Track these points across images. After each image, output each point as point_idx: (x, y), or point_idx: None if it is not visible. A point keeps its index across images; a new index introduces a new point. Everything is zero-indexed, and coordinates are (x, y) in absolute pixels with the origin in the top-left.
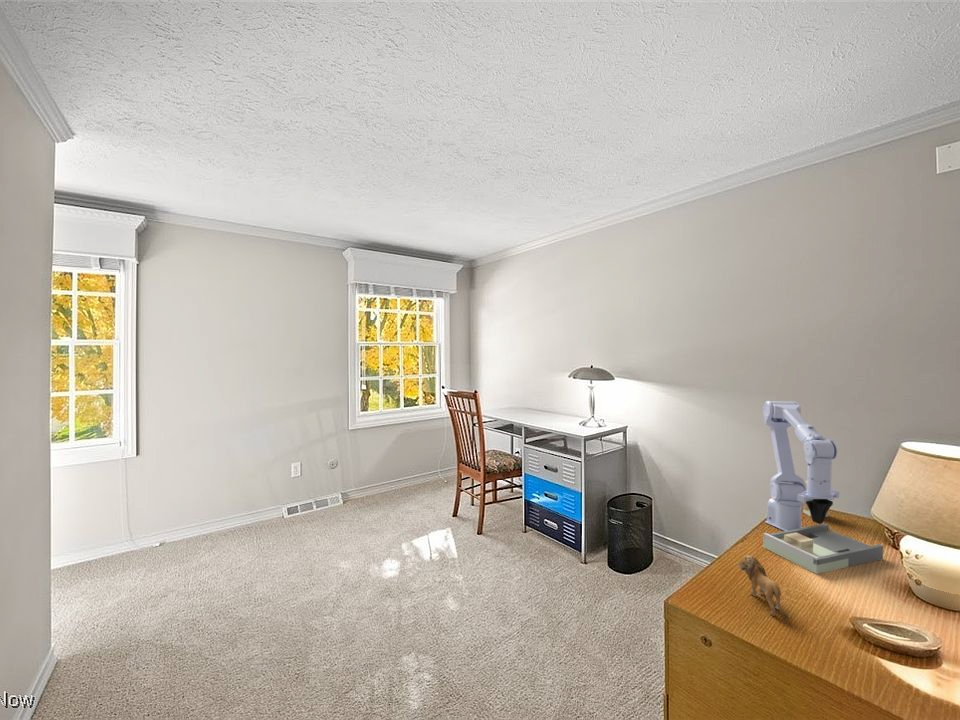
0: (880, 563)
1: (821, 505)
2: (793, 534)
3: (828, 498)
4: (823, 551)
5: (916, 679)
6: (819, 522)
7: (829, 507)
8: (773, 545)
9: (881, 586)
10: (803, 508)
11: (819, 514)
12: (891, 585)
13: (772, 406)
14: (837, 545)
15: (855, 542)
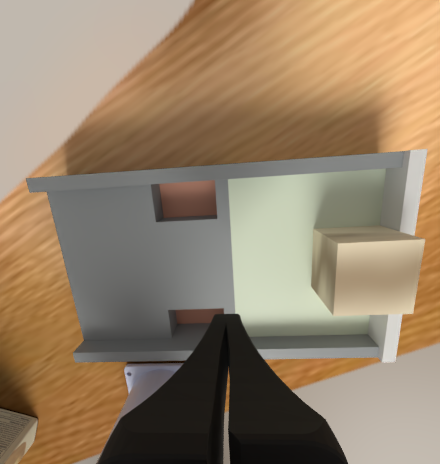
0: (101, 159)
1: (327, 433)
2: (368, 304)
3: None
4: (263, 228)
5: None
6: (239, 318)
7: (164, 392)
8: None
9: (251, 36)
10: (23, 455)
11: (258, 355)
12: (211, 33)
13: None
14: (167, 249)
15: (82, 250)
